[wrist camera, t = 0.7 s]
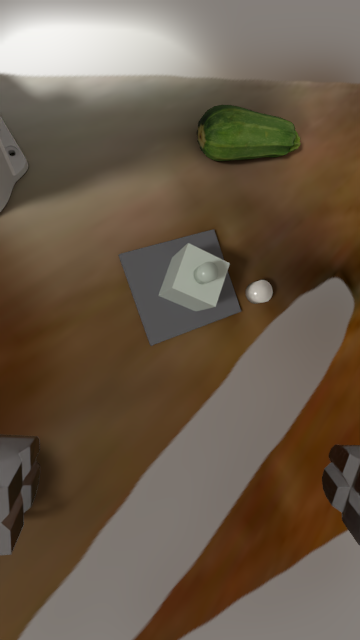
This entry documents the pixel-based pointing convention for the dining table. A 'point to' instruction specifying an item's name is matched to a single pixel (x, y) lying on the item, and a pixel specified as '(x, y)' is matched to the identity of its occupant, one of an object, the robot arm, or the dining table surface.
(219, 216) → the dining table surface
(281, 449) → the dining table surface
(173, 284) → the square capped bottle
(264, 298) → the glossy white pebble
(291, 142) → the vegetable
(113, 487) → the dining table surface
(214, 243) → the mat
